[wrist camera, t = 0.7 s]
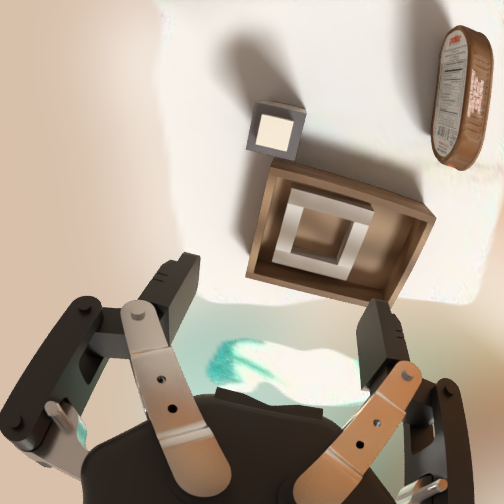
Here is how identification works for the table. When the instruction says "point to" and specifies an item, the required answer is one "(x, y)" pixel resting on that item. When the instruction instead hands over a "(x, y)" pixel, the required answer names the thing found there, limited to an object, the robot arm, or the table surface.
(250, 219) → the table surface
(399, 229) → the box
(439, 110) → the tin
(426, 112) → the table surface
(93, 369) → the robot arm
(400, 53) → the table surface
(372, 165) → the table surface
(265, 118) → the connector
